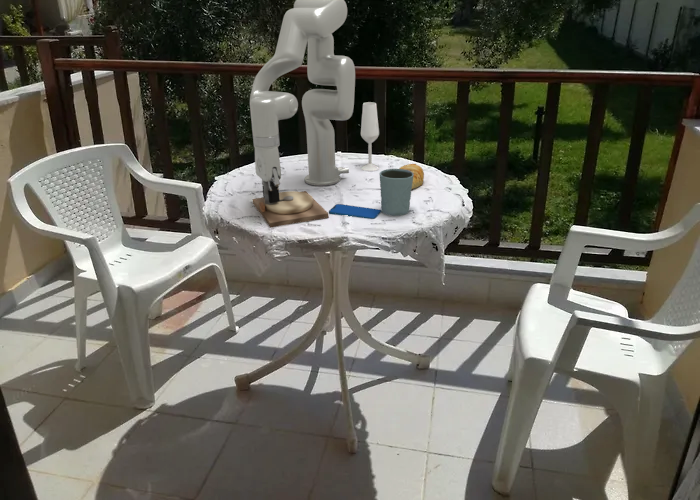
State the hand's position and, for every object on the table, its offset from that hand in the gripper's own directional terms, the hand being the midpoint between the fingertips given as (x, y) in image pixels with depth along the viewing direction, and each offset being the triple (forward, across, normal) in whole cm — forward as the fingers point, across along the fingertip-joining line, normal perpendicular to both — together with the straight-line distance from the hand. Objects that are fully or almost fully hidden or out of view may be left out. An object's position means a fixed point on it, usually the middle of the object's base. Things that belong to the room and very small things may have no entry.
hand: (271, 199), depth 180 cm
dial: (+3, 0, +5) cm, 6 cm away
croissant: (+5, -3, +51) cm, 52 cm away
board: (+5, 0, +5) cm, 7 cm away
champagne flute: (+5, -24, +48) cm, 54 cm away
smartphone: (+5, +12, +22) cm, 26 cm away
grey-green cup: (+5, +17, +34) cm, 38 cm away
